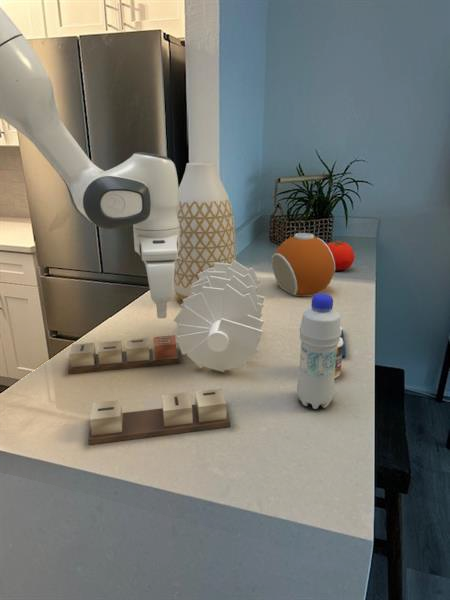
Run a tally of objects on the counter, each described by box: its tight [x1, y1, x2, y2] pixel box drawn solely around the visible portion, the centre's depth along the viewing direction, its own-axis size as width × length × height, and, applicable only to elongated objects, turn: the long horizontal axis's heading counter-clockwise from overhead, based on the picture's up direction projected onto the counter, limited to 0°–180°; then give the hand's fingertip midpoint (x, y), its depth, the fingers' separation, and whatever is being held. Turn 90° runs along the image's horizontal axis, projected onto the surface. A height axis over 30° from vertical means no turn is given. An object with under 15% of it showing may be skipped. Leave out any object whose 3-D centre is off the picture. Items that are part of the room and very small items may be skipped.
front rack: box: [87, 388, 231, 446], centre depth 69 cm, size 22×6×4 cm, turn 101°
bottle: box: [296, 293, 341, 410], centre depth 72 cm, size 7×7×20 cm
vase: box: [173, 162, 237, 301], centre depth 120 cm, size 19×18×38 cm
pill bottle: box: [334, 325, 343, 379], centre depth 84 cm, size 6×6×10 cm
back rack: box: [67, 337, 180, 375], centre depth 89 cm, size 22×6×4 cm, turn 101°
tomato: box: [326, 239, 355, 272], centre depth 153 cm, size 11×13×10 cm
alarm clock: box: [271, 232, 336, 297], centre depth 131 cm, size 19×18×17 cm
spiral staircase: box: [173, 260, 266, 373], centre depth 92 cm, size 18×18×25 cm
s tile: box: [153, 334, 178, 359], centre depth 91 cm, size 4×4×3 cm
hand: (160, 308), depth 88 cm, fingers open, 8 cm apart
